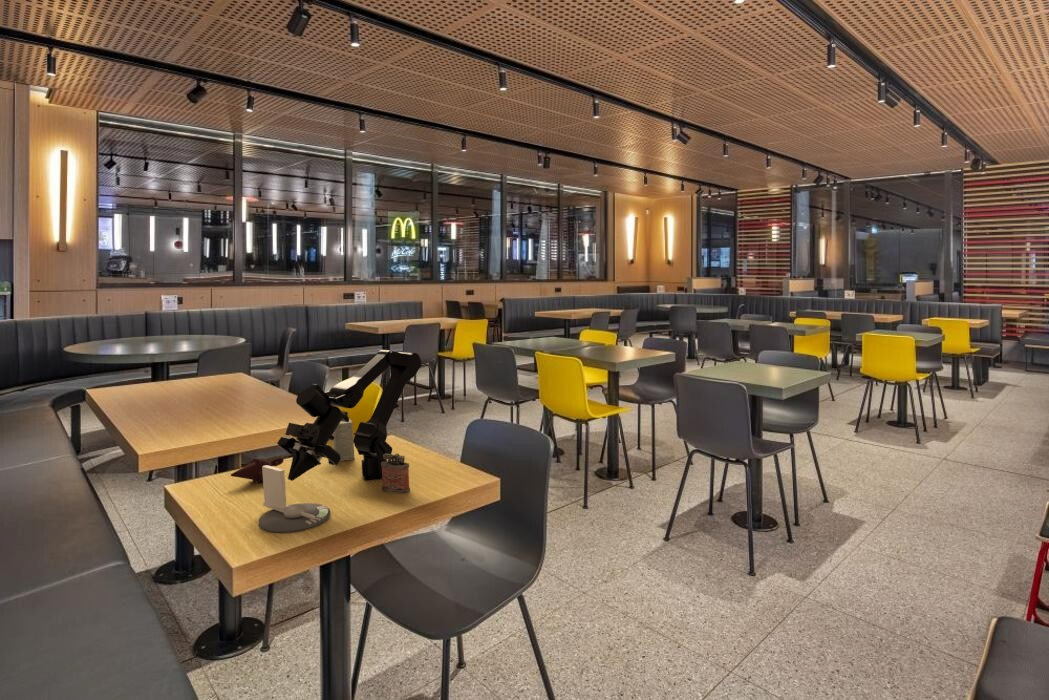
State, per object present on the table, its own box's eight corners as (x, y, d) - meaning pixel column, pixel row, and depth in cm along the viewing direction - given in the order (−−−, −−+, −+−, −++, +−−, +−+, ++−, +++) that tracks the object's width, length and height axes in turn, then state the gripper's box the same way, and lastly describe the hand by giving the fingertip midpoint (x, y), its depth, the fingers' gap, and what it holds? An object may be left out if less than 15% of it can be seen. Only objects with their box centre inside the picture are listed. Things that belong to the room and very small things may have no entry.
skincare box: (352, 456, 197) (351, 418, 195) (354, 459, 193) (353, 422, 191) (332, 458, 194) (330, 420, 193) (334, 462, 190) (332, 424, 189)
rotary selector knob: (322, 516, 145) (320, 475, 144) (305, 524, 141) (302, 481, 139) (275, 501, 155) (273, 463, 153) (257, 508, 151) (255, 468, 149)
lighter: (412, 490, 166) (411, 453, 164) (406, 494, 163) (404, 457, 161) (386, 486, 168) (385, 451, 167) (379, 491, 165) (378, 454, 164)
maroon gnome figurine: (239, 469, 164) (290, 460, 176) (226, 457, 169) (277, 449, 180) (235, 492, 166) (286, 482, 177) (222, 480, 170) (273, 471, 182)
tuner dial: (329, 502, 157) (329, 498, 157) (331, 527, 142) (331, 522, 142) (261, 511, 152) (261, 506, 152) (255, 537, 137) (255, 532, 137)
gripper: (281, 405, 161) (245, 457, 153) (329, 414, 150) (292, 470, 143) (308, 428, 168) (274, 479, 160) (355, 438, 158) (322, 492, 150)
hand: (289, 479), depth 153 cm, fingers closed
